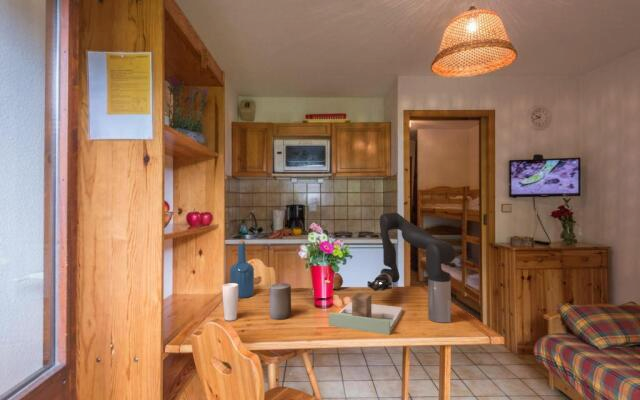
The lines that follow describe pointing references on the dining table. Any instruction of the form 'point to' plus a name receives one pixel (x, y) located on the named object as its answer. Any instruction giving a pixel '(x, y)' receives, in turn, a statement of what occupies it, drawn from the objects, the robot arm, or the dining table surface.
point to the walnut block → (361, 305)
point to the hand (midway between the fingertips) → (375, 288)
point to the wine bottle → (242, 273)
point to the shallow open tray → (367, 319)
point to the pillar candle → (280, 301)
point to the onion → (337, 281)
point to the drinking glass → (230, 301)
